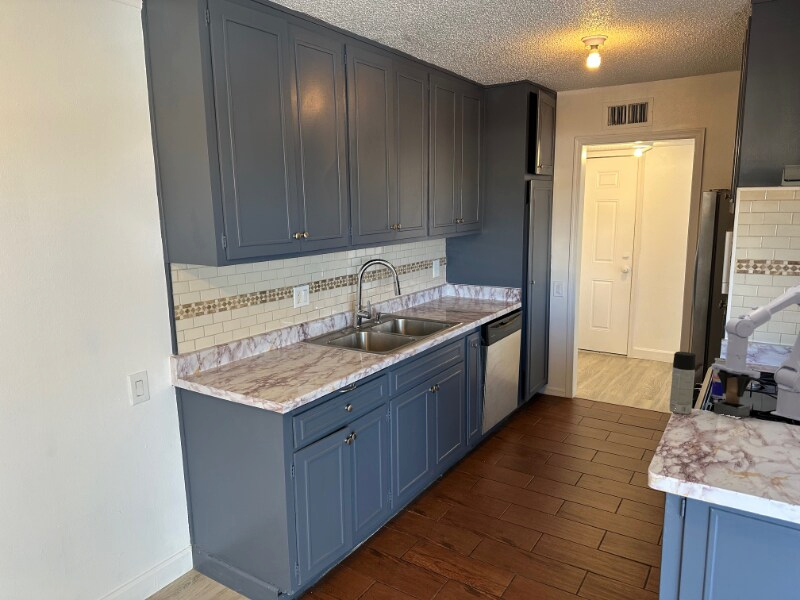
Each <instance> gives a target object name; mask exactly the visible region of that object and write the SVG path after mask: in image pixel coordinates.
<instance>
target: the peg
mask: <svg viewBox="0 0 800 600" xmlns="http://www.w3.org/2000/svg"><path fill="white" fill-rule="evenodd" d="M737 393H738V379H737V377H733V376H731V377H728V378H727V389H726V399H725V400H724V401H726V402H728V403H732V404H739V403H740V401H741V400H740V399H741V397H738V396H737Z"/></svg>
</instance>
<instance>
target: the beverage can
mask: <svg viewBox="0 0 800 600" xmlns="http://www.w3.org/2000/svg"><path fill="white" fill-rule="evenodd" d="M713 364H722V365H726V358H722V357H720V358H719V357H715V358H714V362H713ZM718 372H719V370H713V371H712V373H713V374H712V386H711V397H712V398H713V399H714V398H716V399H725V400H726V394H723V388H722V384H721V381H720V379H719V377H718V375H717V373H718ZM716 399H715V400H716Z"/></svg>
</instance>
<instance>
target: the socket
mask: <svg viewBox="0 0 800 600" xmlns="http://www.w3.org/2000/svg"><path fill="white" fill-rule="evenodd" d="M750 410H751V406H750V405H749V404H746V403H740V402H739V404H732V403H728V402H726V401H725V400H719V401H717V402H714V407H713V414H716V413H718V414H717V415H719V414H724V415H730V416H735V417H744V418H746V417H750Z"/></svg>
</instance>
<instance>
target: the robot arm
mask: <svg viewBox="0 0 800 600" xmlns="http://www.w3.org/2000/svg"><path fill="white" fill-rule="evenodd" d="M795 304H796V305H797V306H798V307H800V283H796V284H794V285H793V286H792V287H789V288H787V290H786V291H785V292H784V293H782V294H781V295H779V296H778V297H776V298H775V299H773V300H772V301H770V302H768V303H767V304H766V305H754V306H752V307H751V309H750V310H747V312H744V313H741V314H739V316H738V317H734V318H731V319H729V320H728V321H727V323H726V325H724V330H725V332H726V333H727V346H726V356H725V359H726V365H722V364H714V363H711V369H710V370H713V371H714V370H719V372H718V373H717V375H718V377H719V379H720V381H721V384H722V388H723V394H726V389H727V378H728V377H733V376H732V375H733V374H734V375H737V376H736V378H737V379H738V393H737V396H738V397H740V398H743V397H744V393H745V391H746V389H747V387H748V385H749V384H750V383H751V381H752V380H753V379H760V377H761V371H757V370H754V369H750V368H747V357H748V356H747V355H748V344H749V337H751V336H752V335H753V333H754V331H755V330H756V329H758V328H759V327H760V326H762V325H764V324H766V323H767V322H769V321H771V319H772V315H774V314H776V313H778V312H780V311H782V310H783V309H786V308H788V307H790V306H792V305H795ZM773 379H774V381H775V383H776V384H777V385H776V386H777V388H778V389H777V399H776V410H775V411H770V414H771V415H775V416H780V417H782V418H783V417H784V418H787V419H790V420H791V419H792V420H796V421H799V422H800V330H799V331H798V334H797V336H796V340H795V342H794V344H793V348H792V350H791V352H790V355H789V357H788V358H787V359H786V360H783V361H782V362H781V364H780V366H779V367H778V368H777V369H776V370H775V372H774V375H773Z"/></svg>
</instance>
